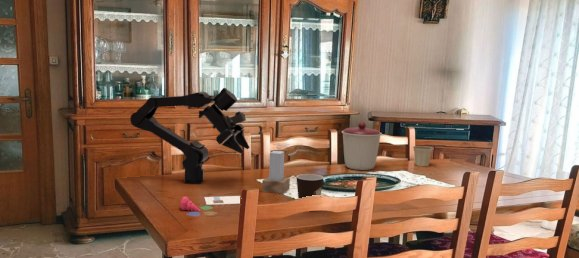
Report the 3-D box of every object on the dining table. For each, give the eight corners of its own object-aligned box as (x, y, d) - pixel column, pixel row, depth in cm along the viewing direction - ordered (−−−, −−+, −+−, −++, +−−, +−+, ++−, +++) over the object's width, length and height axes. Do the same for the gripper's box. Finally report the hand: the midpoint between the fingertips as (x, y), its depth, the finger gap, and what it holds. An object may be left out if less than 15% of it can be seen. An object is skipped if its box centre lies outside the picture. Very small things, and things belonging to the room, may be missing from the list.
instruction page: (206, 205, 158) (206, 204, 158) (204, 197, 167) (204, 196, 167) (243, 203, 161) (243, 203, 161) (239, 196, 170) (239, 195, 169)
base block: (262, 191, 177) (262, 180, 176) (268, 186, 185) (269, 176, 184) (283, 193, 175) (283, 182, 174) (289, 188, 183) (289, 178, 182)
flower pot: (434, 167, 231) (435, 149, 230) (414, 167, 231) (415, 148, 230) (429, 163, 240) (430, 146, 239) (409, 163, 240) (410, 145, 239)
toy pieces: (176, 217, 145) (176, 202, 145) (181, 206, 156) (181, 193, 156) (217, 217, 146) (217, 203, 146) (219, 207, 157) (219, 193, 157)
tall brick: (269, 180, 177) (269, 152, 176) (273, 177, 182) (273, 150, 181) (279, 181, 176) (280, 153, 175) (283, 178, 181) (284, 151, 180)
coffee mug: (303, 212, 153) (304, 181, 152) (290, 205, 161) (291, 175, 160) (335, 208, 159) (336, 178, 157) (321, 201, 166) (322, 172, 165)
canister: (351, 162, 237) (353, 118, 234) (386, 168, 226) (389, 122, 224) (332, 168, 222) (334, 121, 220) (368, 174, 212) (371, 125, 209)
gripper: (225, 106, 173) (255, 140, 173) (239, 103, 191) (266, 133, 191) (203, 127, 175) (232, 160, 175) (219, 121, 194) (245, 151, 193)
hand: (245, 150), depth 183 cm, fingers open, 9 cm apart
